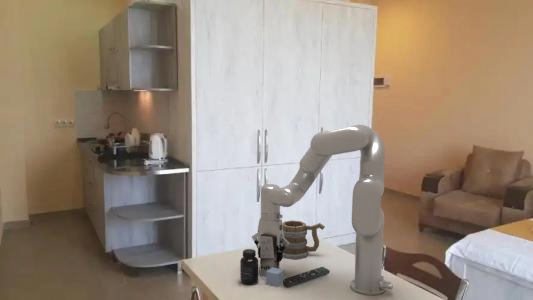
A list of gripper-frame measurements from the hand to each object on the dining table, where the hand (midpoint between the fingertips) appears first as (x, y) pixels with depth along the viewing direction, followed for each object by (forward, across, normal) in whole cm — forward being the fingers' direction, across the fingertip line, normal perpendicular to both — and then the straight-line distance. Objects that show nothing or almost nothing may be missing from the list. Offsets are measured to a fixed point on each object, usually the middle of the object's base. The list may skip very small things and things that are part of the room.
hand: (270, 258), depth 174 cm
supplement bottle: (+6, +2, +12) cm, 13 cm away
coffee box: (+6, 0, 0) cm, 6 cm away
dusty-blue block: (+6, -7, +8) cm, 12 cm away
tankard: (+6, -2, -24) cm, 25 cm away
